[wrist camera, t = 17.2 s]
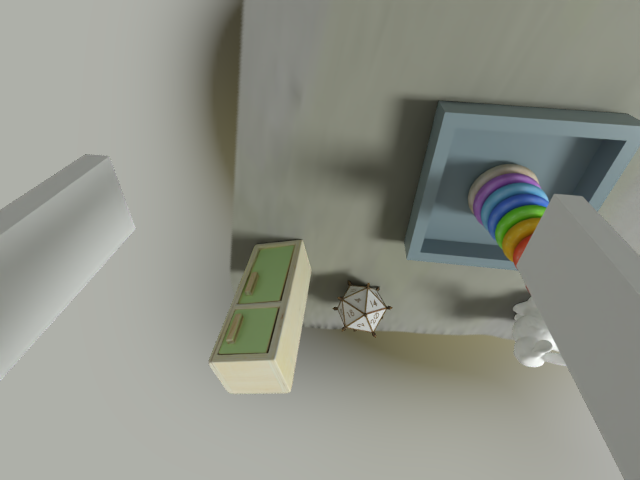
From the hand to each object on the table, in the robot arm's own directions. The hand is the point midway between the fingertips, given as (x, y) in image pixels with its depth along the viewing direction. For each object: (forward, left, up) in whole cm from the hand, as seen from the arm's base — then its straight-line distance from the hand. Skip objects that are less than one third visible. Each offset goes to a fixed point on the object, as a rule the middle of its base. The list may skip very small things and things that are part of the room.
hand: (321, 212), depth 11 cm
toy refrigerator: (+30, -8, -32) cm, 45 cm away
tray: (+15, +20, -32) cm, 40 cm away
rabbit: (+36, +33, -32) cm, 58 cm away
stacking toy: (+15, +20, -31) cm, 40 cm away
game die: (+36, +5, -32) cm, 48 cm away
